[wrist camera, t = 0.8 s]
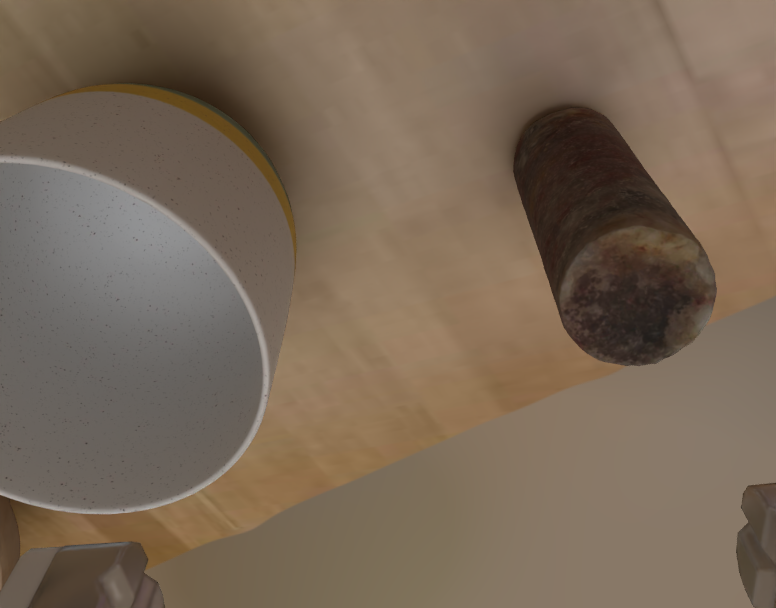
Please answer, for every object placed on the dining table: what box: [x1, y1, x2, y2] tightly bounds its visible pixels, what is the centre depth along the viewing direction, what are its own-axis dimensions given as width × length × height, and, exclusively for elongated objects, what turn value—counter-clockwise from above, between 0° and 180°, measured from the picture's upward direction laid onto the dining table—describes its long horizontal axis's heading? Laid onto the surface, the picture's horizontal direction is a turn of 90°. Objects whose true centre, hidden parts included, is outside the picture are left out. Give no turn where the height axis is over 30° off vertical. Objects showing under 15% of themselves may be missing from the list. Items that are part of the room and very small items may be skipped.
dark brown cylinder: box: [513, 107, 717, 366], centre depth 42 cm, size 8×7×20 cm
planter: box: [0, 83, 296, 514], centre depth 43 cm, size 20×20×21 cm
